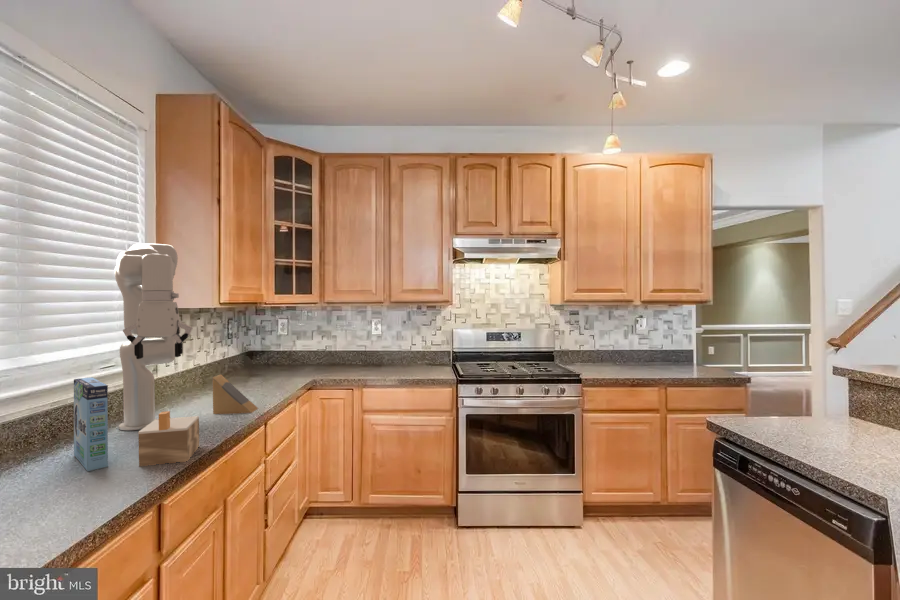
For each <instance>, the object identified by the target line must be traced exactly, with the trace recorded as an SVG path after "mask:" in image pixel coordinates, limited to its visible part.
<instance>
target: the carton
mask: <svg viewBox="0 0 900 600" xmlns="http://www.w3.org/2000/svg"><path fill="white" fill-rule="evenodd" d="M137 437H138V467H145V466H146V467H147V466H148V465H149V466H156V464H159V465H166V464H165V463H169V464H176V462H180V463H187V462H188V461H189V460H190V459H191V458H192V457H193V455H194V454H195V453H196V451H197V450H198V449H199V448H200V417H199V418H198V419H197V420H196V421H195V422H194V423H193V424H192V425H191V426H190V427H189V428H188V429H187V430H183V431H171V432H158V433H145V434H138V435H137ZM198 447H199V448H198ZM194 452H195V453H194ZM190 457H191V458H190ZM186 461H187V462H186Z"/></svg>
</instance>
